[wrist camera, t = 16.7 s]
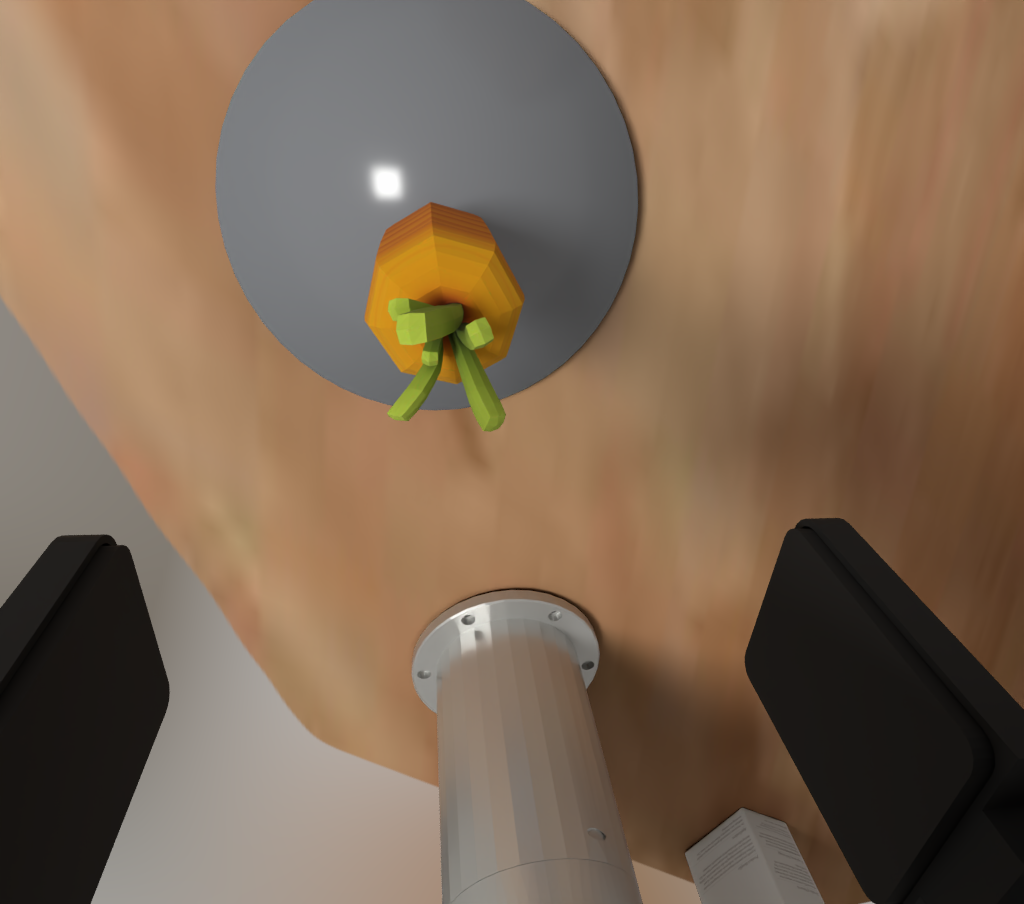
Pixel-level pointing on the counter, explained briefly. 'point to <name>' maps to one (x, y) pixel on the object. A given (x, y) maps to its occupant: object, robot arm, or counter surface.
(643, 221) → the counter surface
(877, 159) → the counter surface
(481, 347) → the carrot
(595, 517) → the counter surface
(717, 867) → the skincare box
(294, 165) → the plate
